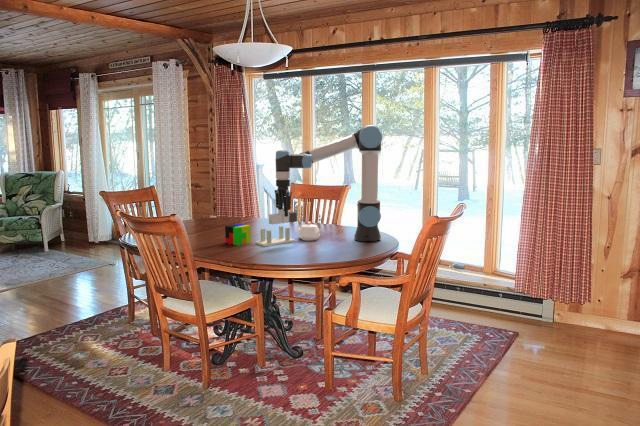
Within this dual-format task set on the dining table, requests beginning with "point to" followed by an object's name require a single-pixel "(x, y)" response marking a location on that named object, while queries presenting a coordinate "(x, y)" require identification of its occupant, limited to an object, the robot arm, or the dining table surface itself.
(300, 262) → the dining table surface
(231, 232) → the puzzle toy
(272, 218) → the bar
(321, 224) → the dining table surface
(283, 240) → the rack
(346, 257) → the dining table surface
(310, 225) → the teapot
